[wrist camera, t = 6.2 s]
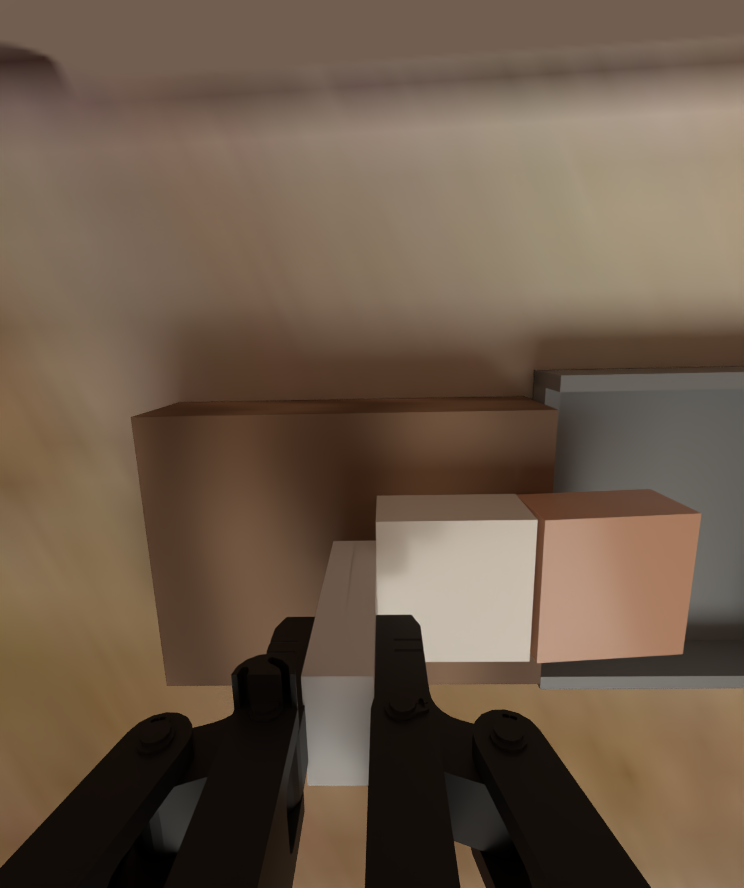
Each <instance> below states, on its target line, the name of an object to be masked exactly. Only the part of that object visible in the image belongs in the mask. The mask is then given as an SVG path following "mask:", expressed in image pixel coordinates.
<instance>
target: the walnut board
mask: <svg viewBox="0 0 744 888" xmlns="http://www.w3.org/2000/svg"><path fill="white" fill-rule="evenodd" d="M131 422H132V430H133V437H134V444H135V452H136V459H137V467H138V474H139V482H140V489H141V497H142V504H143V512H144V519H145V526H146V534H147V541H148V549H149V556H150V564H151V571H152V579H153V586H154V594H155V601H156V608H157V616H158V623H159V631H160V638H161V646H162V653H163V661H164V668H165V675H166V683H167V686H219V685H232V680H231V674H232V673H233V671H234V670H235V669H236V667H237V666H238V665H240V664H241V663H242V662H244V661H245V660H247V659H249V658H252V657H254V656H257V655H262V654H266V653H267V649H268V646H269V644H270V641H271V638H272V635H273V633H274V630H275V628H276V627H277V626H278V625H279V624H280V623H281V622H282V621H283V620H284V619H285V618H286V617H315V616H316V612H317V608H318V603H319V599H320V595H321V591H322V587H323V582H324V578H325V574H326V570H327V566H328V562H329V557H330V553H331V549H332V545H333V541H376V503H377V496H391V495H463V494H516V495H520V494H543V493H553V482H554V467H555V452H556V437H557V422H558V409H555V408H552V407H550V406H547V405H545V404H542V403H540V402H537V401H534V400H532V399H529V398H527V397H524V396H512V397H457V398H402V399H346V400H291V401H236V402H181V403H176V404H172V405H169V406H166V407H163V408H159V409H156V410H153V411H150V412H146V413H143V414H140V415H137V416H133V417H131ZM425 663H426V670H427V677H428V684H540V676H541V663H536V661H535V659H534V658H533V656H532V654H531V653H530V662H425Z"/></svg>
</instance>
